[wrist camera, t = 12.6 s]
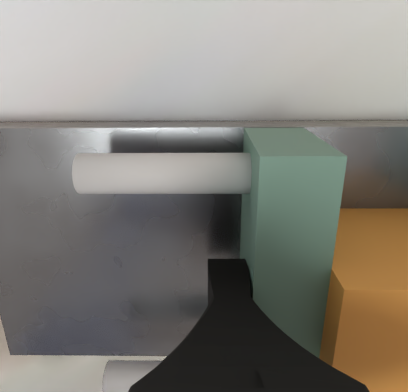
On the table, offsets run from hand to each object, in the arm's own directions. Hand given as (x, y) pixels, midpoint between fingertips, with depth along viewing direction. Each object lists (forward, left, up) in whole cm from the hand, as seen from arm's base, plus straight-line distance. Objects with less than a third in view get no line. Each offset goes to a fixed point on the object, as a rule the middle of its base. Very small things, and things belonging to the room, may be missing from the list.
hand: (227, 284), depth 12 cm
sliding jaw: (0, +1, -2) cm, 2 cm away
